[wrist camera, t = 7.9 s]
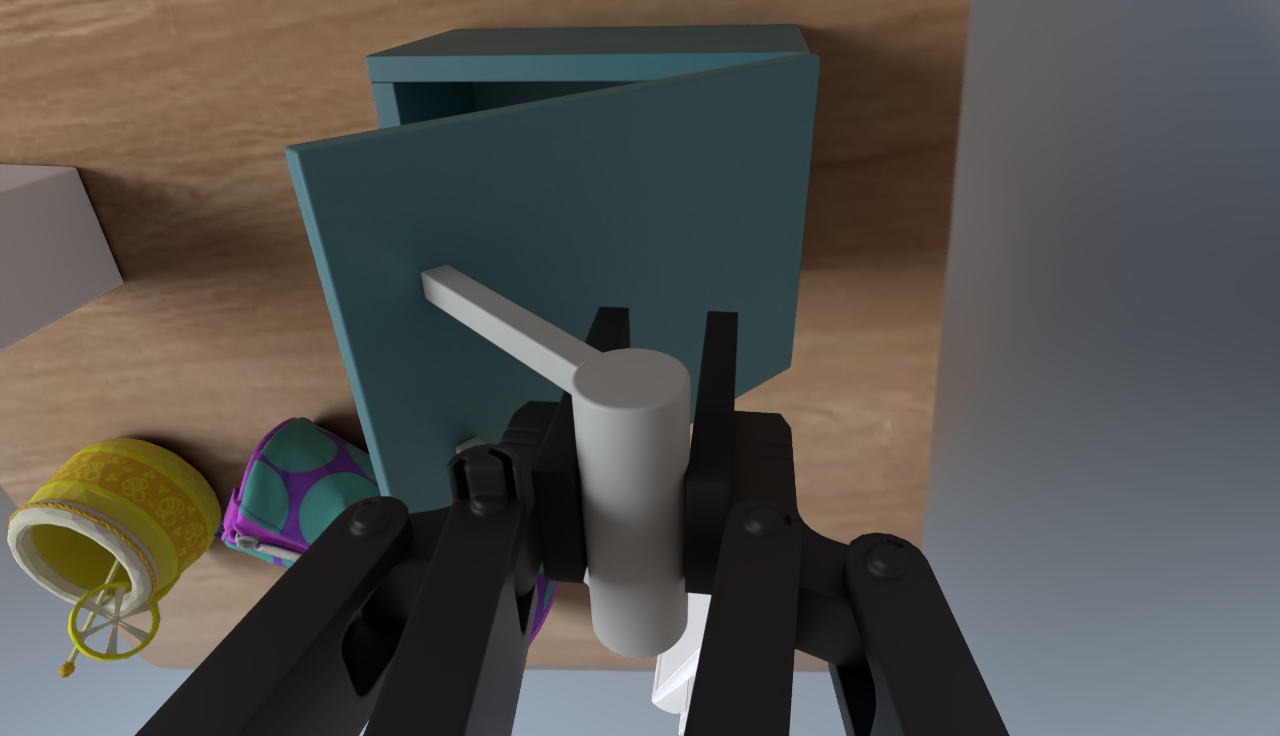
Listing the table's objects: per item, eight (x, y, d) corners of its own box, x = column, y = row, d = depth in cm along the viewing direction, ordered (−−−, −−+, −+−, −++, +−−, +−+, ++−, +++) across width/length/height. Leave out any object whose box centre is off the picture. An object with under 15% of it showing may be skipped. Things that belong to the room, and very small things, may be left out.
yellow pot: (63, 421, 50) (-111, 544, 40) (204, 431, 49) (59, 561, 39) (134, 551, 57) (-1, 685, 47) (259, 563, 56) (148, 704, 45)
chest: (488, 264, 39) (424, 341, 32) (453, 29, 33) (364, 56, 26) (777, 273, 37) (783, 358, 30) (797, 24, 31) (811, 51, 24)
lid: (400, 567, 20) (592, 806, 14) (281, 145, 14) (530, 270, 8) (776, 360, 29) (983, 455, 24) (802, 52, 23) (1088, 81, 18)
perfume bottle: (723, 528, 47) (714, 691, 37) (749, 541, 47) (747, 707, 37) (664, 595, 51) (641, 758, 41) (687, 607, 51) (670, 772, 41)
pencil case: (270, 468, 50) (175, 571, 42) (310, 386, 46) (214, 483, 37) (522, 607, 54) (481, 727, 46) (582, 544, 50) (548, 663, 41)
